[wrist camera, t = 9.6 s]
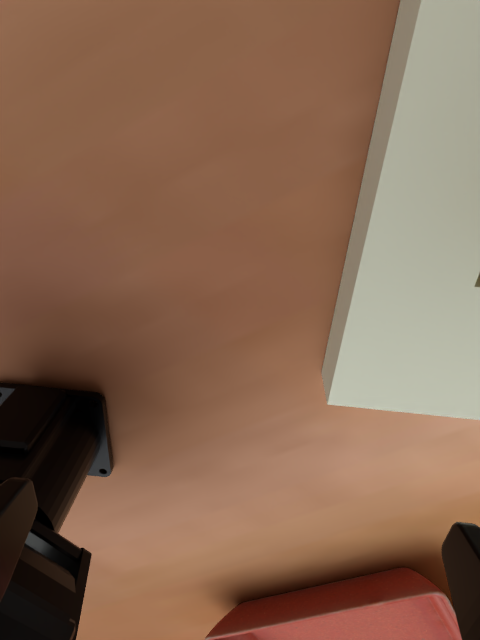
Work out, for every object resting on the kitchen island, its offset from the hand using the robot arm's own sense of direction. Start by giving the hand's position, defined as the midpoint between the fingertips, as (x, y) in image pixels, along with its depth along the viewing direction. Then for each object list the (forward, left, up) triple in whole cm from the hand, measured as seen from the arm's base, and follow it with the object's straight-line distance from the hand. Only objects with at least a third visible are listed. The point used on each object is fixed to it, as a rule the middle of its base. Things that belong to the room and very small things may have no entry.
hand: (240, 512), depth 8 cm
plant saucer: (-30, -11, -12) cm, 34 cm away
